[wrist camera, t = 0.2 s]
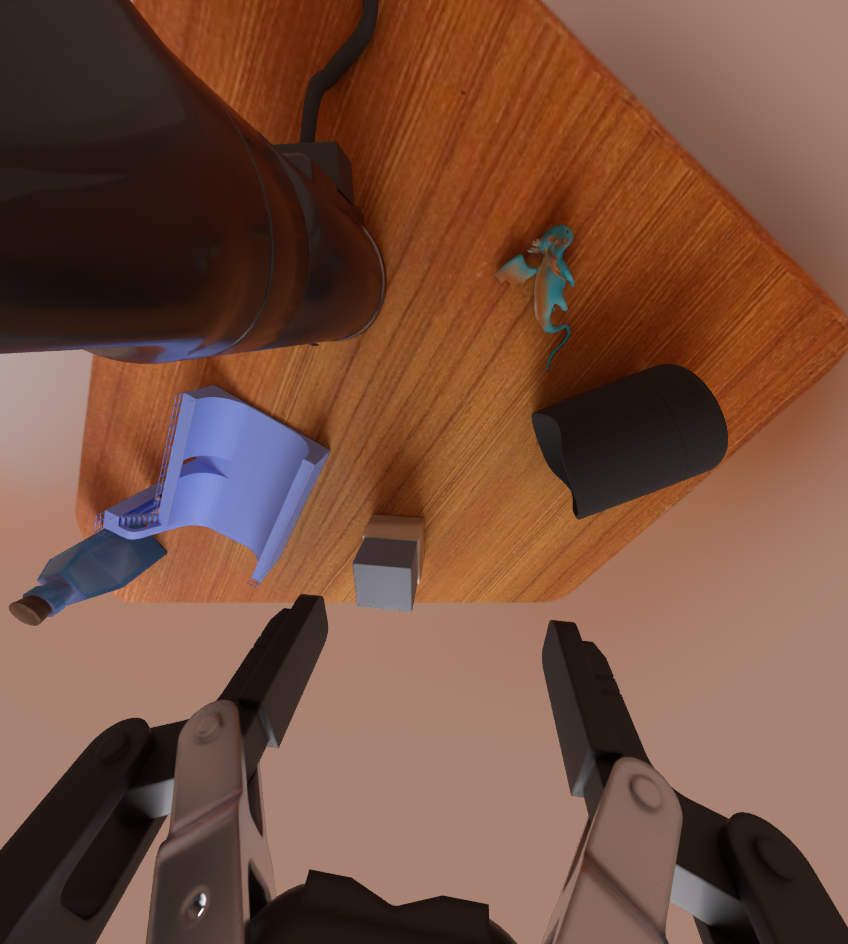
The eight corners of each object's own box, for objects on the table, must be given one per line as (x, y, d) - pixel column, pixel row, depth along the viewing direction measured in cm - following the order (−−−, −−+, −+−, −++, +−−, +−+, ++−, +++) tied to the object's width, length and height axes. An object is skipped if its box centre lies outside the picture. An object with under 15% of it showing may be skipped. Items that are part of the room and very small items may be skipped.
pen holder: (697, 336, 20) (538, 405, 22) (760, 478, 19) (591, 532, 22) (635, 373, 29) (527, 419, 31) (678, 469, 28) (565, 508, 31)
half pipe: (278, 560, 41) (243, 604, 35) (155, 497, 39) (94, 532, 33) (330, 450, 34) (298, 480, 27) (181, 366, 32) (108, 377, 25)
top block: (364, 536, 33) (352, 563, 29) (417, 541, 32) (411, 568, 29) (368, 577, 35) (357, 606, 32) (417, 582, 35) (411, 612, 31)
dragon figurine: (640, 297, 24) (601, 194, 19) (580, 377, 24) (529, 294, 20) (569, 303, 29) (526, 224, 25) (521, 368, 30) (470, 302, 25)
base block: (372, 513, 36) (362, 534, 33) (424, 517, 36) (419, 539, 32) (375, 555, 39) (366, 579, 35) (424, 559, 38) (419, 584, 35)
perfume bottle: (167, 553, 43) (67, 630, 32) (136, 563, 45) (31, 640, 34) (135, 516, 41) (16, 585, 30) (103, 528, 43) (-19, 598, 32)
